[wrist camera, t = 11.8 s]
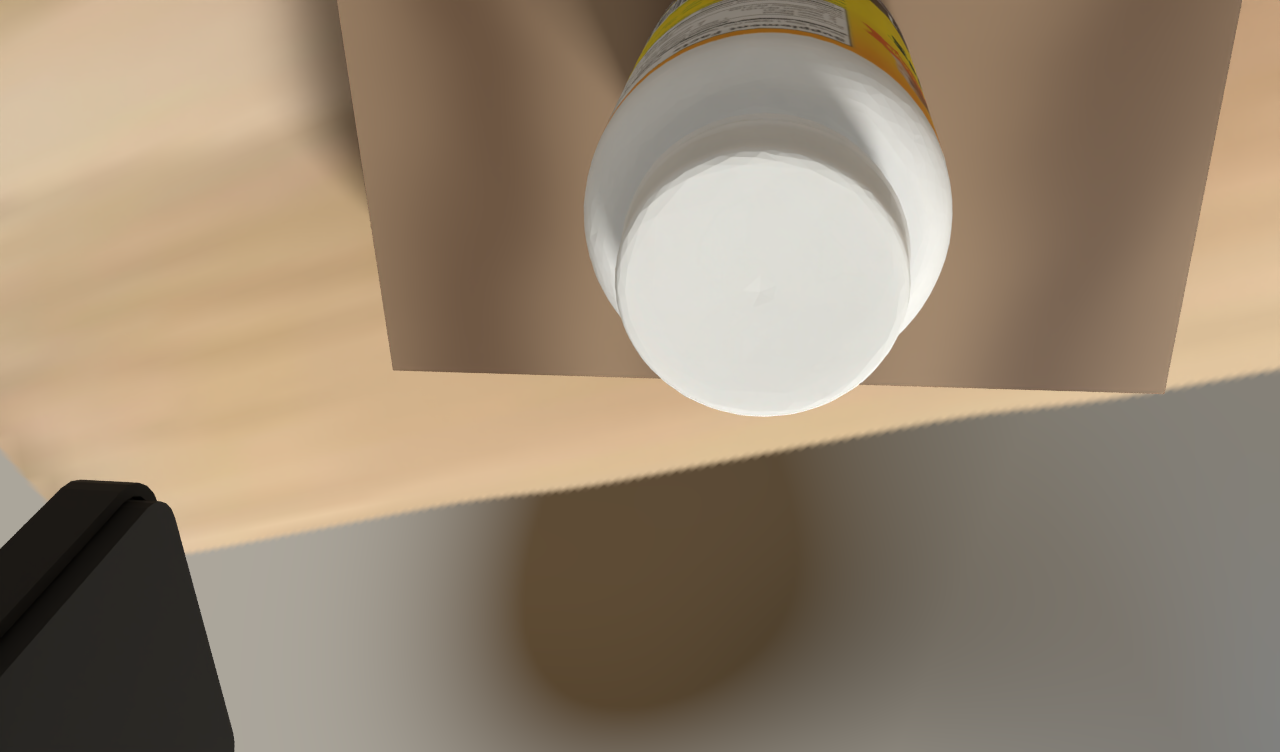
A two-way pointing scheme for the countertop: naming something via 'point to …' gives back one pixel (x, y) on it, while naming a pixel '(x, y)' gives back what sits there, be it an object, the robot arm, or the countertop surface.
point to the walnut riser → (961, 114)
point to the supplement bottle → (769, 200)
